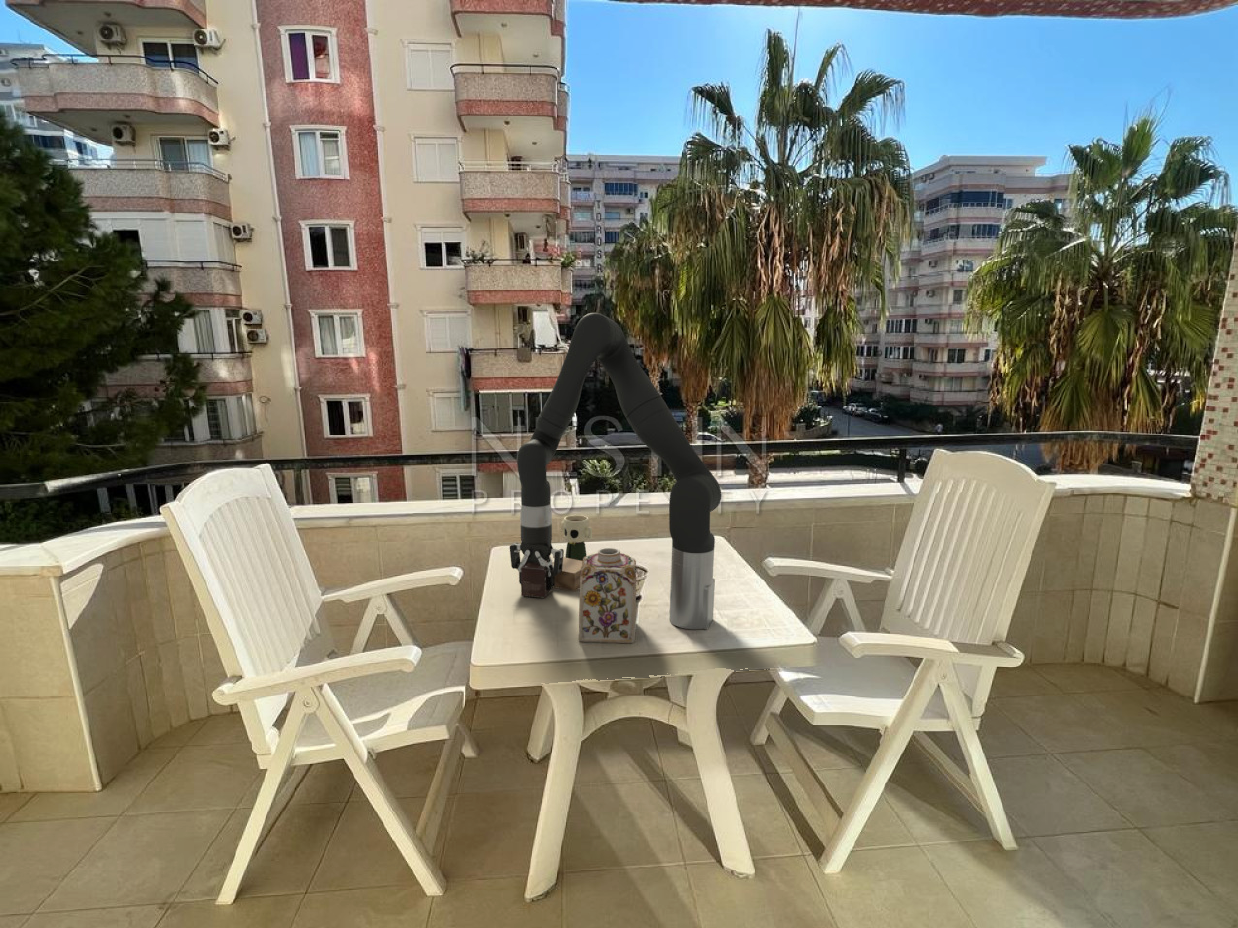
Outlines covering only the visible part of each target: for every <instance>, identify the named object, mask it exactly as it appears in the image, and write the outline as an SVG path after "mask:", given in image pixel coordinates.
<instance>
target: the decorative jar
mask: <svg viewBox="0 0 1238 928" xmlns="http://www.w3.org/2000/svg"><path fill="white" fill-rule="evenodd" d="M636 566H637V561H636V559H635V558H634V557H632V556H630V555H628V554H625V553H621V550H619V549H618V548H613V547H607V548H606V547H605V548H602V549H601V548H600V549H599V550H598V551H597V553H593V554H589V555H586V557H584V558H583V560H582V567H581V569H582V570H581V573H580V579H579V580H580V588H579V601H578V602H579V609H578V641H579V642H581V643H606V644H607V643H609V644H634V643H635V640H636V638H635V637H636V635H635V633H636V618H637V617H636V613H637V612H636V609H637V608H636V607H637V606H636V605H637V568H636Z"/></svg>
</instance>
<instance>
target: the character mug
mask: <svg viewBox="0 0 1238 928" xmlns="http://www.w3.org/2000/svg"><path fill="white" fill-rule="evenodd" d="M589 522H590V519H589V517H588V516H585V515H581V514H578V515H577V514H572V515H567V516H564V518H563V520H562V521H561V523H560V531H561V532H562V534H563V535H562V536H563V539H564V541H566V542H567V543H566V548H565V549H566V550H565V555H564V557H565V558H570V559H575V560H580V561H582V560H583V558H584V557H586V556H587V549H586V541H588V540H589V539H592V537H593V534H592V533H593V529H592V527H591V526H589V525H590V523H589Z"/></svg>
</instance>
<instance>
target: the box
mask: <svg viewBox="0 0 1238 928" xmlns="http://www.w3.org/2000/svg"><path fill="white" fill-rule="evenodd" d="M545 562H546V563H547V561H545ZM546 576H547V574H546V568H542V566H541V564H537V563H535V562H534V563H530V562H528V563H527V564H525V565H523V566H522V567H521V584H520V593H521V594H520V595H521V596H522V597H534V598H542V599H543V598H546V597H547V596H548V594H549V593H550V592H551V590H550V591H548V590H546Z"/></svg>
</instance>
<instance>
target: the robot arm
mask: <svg viewBox="0 0 1238 928" xmlns="http://www.w3.org/2000/svg"><path fill="white" fill-rule="evenodd" d="M572 334H573V335H572V336H571V340H570V343H569V347H568V349H567V353H566V355H565V358H564V361H563V364H562V366H561V368H560V371H559V374H558V377H557V379H556V382H555V384H554V385H553V388H552V389H551V391H550V394H549V396H548V398H547V400H546V402H545V403H544V405H543V407H542V409H541V412H540V414H539V415H538V417H537V420H536V428H535V430H534V432H533V434H532V436H531V438H530V439H529V441H526V442H525V443H523V444H522V445H521V446H520V448H519V449H518V452H517V455H516V456H517V459H516V463H517V464H516V466H517V472H518V477H519V482H520V486H521V488H520V496H521V497H520V502H521V506H520V514H519V515H520V516H519V517H520V518H519V520H520V541H521V542H520V543H518V542H514V543H512V544H510V545H509V554H510V565H511V568H512V569H515V570H517V571H518V576H519V577H518V580H519V581H518V582H519V584H520V585H521V567H522V566H523V565H525V564H527V563H528V562H530V563H534V562H535V563H537V564H541V566H542V568H546V574H547V576H546V590H548V591H550V592H551V591H552V590H553V588H555V587H554V586H555V575H557V574H559V573H560V572H562V567H563V557H565V555H564V552H565V549H564V548H560V549H556V548H554V547H553V544H552V541H553V521H552V520H553V519H552V517H553V512H552V504H551V501H552V499H551V496H552V495H551V494H552V493H551V492H552V491H551V484H550V482H549V481H548V479H547V476H548V475H547V465H549V464H550V462H552V459H553V458H554V456H555V454H556V452H557V450H558V447H559V444H560V442H561V439H562V437H563V435H564V433H565V432H566V430H567V428H568V426H569V425H570V423H571V421H572V419H573V417H574V415H575V413H576V411H577V408H578V406H579V402H580V399H581V394H582V389H583V385H584V383H585V379H586V377H587V376H588V372H589V371H590V369H591V367H592V365H593V364H594V362H595V361H596V360H597V361H598V362H599V363H600V365H601V366H602V367H603V368H604V371H606V373H607V374H608V376H609V377H610V379H611V380H612V383H613V386H614V389H615V393H616V395H617V400H618V402H619V406H620V408H621V411H622V413H623V415H624V417H625V418H626V420H627V422H628V424H629V426H630V427H631V429H632V430H633V432H634V434H635V435H636V436H637V437H638V438H639V440H640V441H641V442H642V443H643V445H645V446H646V447H647V448H648V449H649V450H650V451H651V452H653V453H654V454H655V455H656V456H657V457H659V458H660V459H661V460H662V462H664V463H665V465H666V466H667V468H668V469H669V470H670V472H671V473H672V475H673V478H674V479H675V481H676V482H675V483H674V484H673V486H672V487H671V490H670V493H669V503H668V504H669V505H668V507H669V508H668V514H669V515H668V516H669V517H668V521H669V524H668V525H669V526H668V527H669V528H668V529H669V534H670V537H671V565H670V567H671V569H670V591H669V592H670V593H669V594H670V595H669V613H668V614H669V619H668V620H669V621H670V623H671V624H672V625H674V626H675V627H679V628H682V629H687V630H700V629H701V630H708V628H709V627H710V625H711V623H712V622H713V619H714V606H715V583H716V579H715V578H714V564H715V563H714V562H715V561H714V560H715V558H714V557H715V547H716V546H715V545H716V544H715V543H716V541H715V540H716V539H715V538H716V537H715V535H714V534H713V533H712V532H711V513H712V512H713V511H714V510H716V509H717V508H718V507H719V505H720V503H721V501H722V489H721V488H722V487H721V486H720V483H719V482H718V480H717V479H716V477H715V476H714V474H713V473H712V472H711V471H710V469H709V468H708V467H707V465H706V464H705V463H704V462H703V460H702V459H701V458H700V457H699V455H698V454H697V452H696V451H695V450H694V448H693V447H692V445H691V444H690V442H689V440H688V438H687V436H686V435H685V433H684V431H683V430H682V428H681V427H680V424H679V423H678V422H677V420H676V417H674V415H673V413H672V411H671V410H670V409H669V407H668V405H667V404H666V402H665V400H664V399H663V397H662V395H661V394H660V392H659V391H658V389H657V388H656V387H655V384H654V383H653V382H652V380H651V379H650V377H649V376H648V375H647V373H646V372H645V371H644V370H643V368H642V367H641V365H640V364H639V363H638V360H637V359H636V357H635V355H634V353H633V351H632V349H631V347H630V345H629V342H628V339H627V338H626V335H625V334H624V332H623V330H622V328H621V327H620V325H619V324H618V322H616V321H615V320H613V319H612V318H610V317H608V316H606V315H604V314H602V313H599V312H590V313H587V314H586V315H583V316H582V318H580V320H579V321H578V322H577V324H576V326H575V328H574V331H573V333H572ZM521 552H522V554H523V557H522V559H521V554H520V553H521ZM551 555H552V557H551ZM552 558H553V559H552ZM545 561H547V563H546V562H545ZM553 562H554V566H553Z"/></svg>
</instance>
